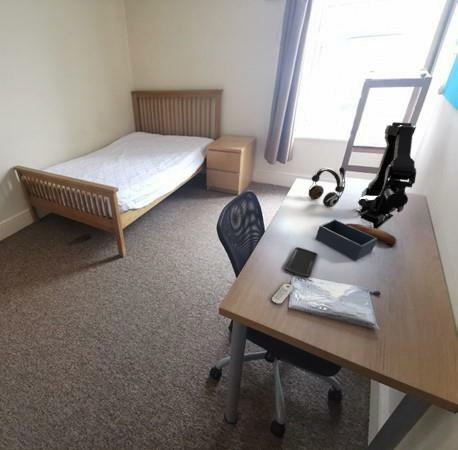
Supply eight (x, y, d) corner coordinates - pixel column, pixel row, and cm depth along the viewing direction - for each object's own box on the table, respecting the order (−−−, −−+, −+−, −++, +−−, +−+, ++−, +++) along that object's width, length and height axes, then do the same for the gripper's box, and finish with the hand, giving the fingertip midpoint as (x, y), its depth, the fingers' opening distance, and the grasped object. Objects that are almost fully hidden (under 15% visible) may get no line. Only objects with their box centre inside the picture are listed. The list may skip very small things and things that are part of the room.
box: (330, 232, 116) (334, 219, 112) (371, 252, 104) (377, 238, 100) (315, 239, 112) (319, 225, 109) (355, 261, 100) (362, 246, 97)
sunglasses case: (396, 236, 110) (401, 228, 105) (390, 251, 109) (395, 243, 103) (344, 223, 121) (347, 214, 116) (338, 236, 119) (341, 228, 114)
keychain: (285, 281, 92) (294, 286, 90) (285, 282, 92) (294, 287, 90) (270, 299, 85) (280, 304, 84) (270, 300, 86) (279, 305, 84)
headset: (342, 209, 132) (357, 169, 121) (330, 212, 130) (344, 171, 119) (314, 194, 146) (325, 157, 135) (302, 197, 144) (312, 160, 133)
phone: (284, 267, 97) (296, 246, 107) (284, 270, 97) (295, 248, 107) (309, 276, 92) (318, 253, 102) (308, 278, 93) (318, 255, 103)
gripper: (380, 182, 115) (367, 214, 123) (353, 194, 108) (341, 227, 116) (411, 191, 107) (395, 225, 115) (384, 205, 100) (369, 240, 108)
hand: (374, 229), depth 114 cm, fingers closed
